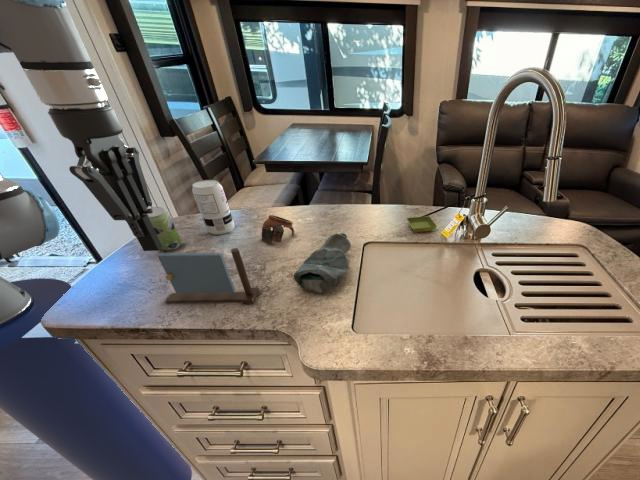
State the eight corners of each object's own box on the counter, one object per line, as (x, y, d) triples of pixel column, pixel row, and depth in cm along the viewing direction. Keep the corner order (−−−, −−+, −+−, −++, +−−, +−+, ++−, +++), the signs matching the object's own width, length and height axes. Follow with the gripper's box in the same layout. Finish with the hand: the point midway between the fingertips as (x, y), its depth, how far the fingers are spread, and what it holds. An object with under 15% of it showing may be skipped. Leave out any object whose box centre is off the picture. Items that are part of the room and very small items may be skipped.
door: (174, 295, 73) (154, 258, 67) (178, 290, 75) (159, 253, 69) (232, 294, 74) (218, 257, 68) (235, 289, 76) (221, 252, 70)
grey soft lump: (337, 299, 77) (367, 248, 96) (332, 275, 72) (364, 226, 91) (288, 295, 79) (326, 246, 98) (279, 271, 75) (321, 225, 94)
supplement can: (203, 230, 104) (185, 183, 95) (227, 222, 109) (213, 177, 100) (215, 238, 100) (197, 190, 91) (240, 229, 105) (225, 183, 96)
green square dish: (437, 232, 107) (437, 226, 106) (412, 234, 105) (412, 228, 104) (429, 221, 114) (429, 215, 113) (405, 223, 112) (405, 217, 111)
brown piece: (258, 237, 102) (264, 212, 100) (288, 245, 107) (294, 221, 105) (260, 244, 92) (267, 216, 90) (293, 252, 97) (301, 226, 95)
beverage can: (181, 240, 98) (164, 202, 91) (186, 250, 94) (168, 211, 86) (157, 246, 95) (138, 207, 88) (161, 256, 91) (141, 216, 83)
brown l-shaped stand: (164, 305, 74) (136, 256, 66) (174, 292, 78) (150, 245, 70) (253, 303, 75) (237, 255, 67) (259, 291, 79) (245, 244, 71)
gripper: (73, 112, 42) (155, 266, 56) (132, 100, 52) (189, 233, 66) (11, 111, 41) (110, 267, 56) (84, 99, 51) (151, 233, 66)
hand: (153, 248), depth 61 cm, fingers closed
